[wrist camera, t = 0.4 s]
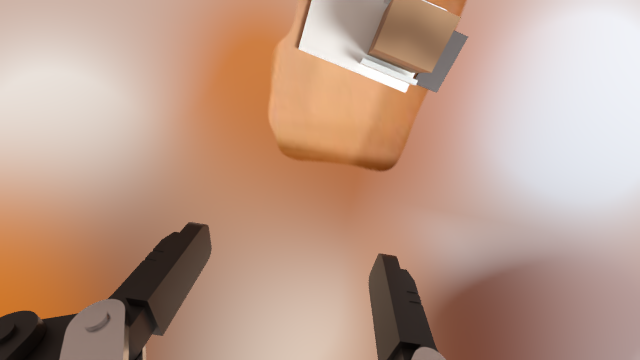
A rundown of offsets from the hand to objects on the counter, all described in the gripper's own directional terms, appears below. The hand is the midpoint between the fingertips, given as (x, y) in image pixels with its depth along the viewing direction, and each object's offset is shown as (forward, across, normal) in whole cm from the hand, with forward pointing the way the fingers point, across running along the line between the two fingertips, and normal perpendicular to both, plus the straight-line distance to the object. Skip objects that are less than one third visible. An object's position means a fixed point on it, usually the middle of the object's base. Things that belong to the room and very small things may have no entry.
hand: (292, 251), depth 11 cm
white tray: (+28, -6, -10) cm, 31 cm away
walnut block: (+28, -8, -10) cm, 30 cm away
